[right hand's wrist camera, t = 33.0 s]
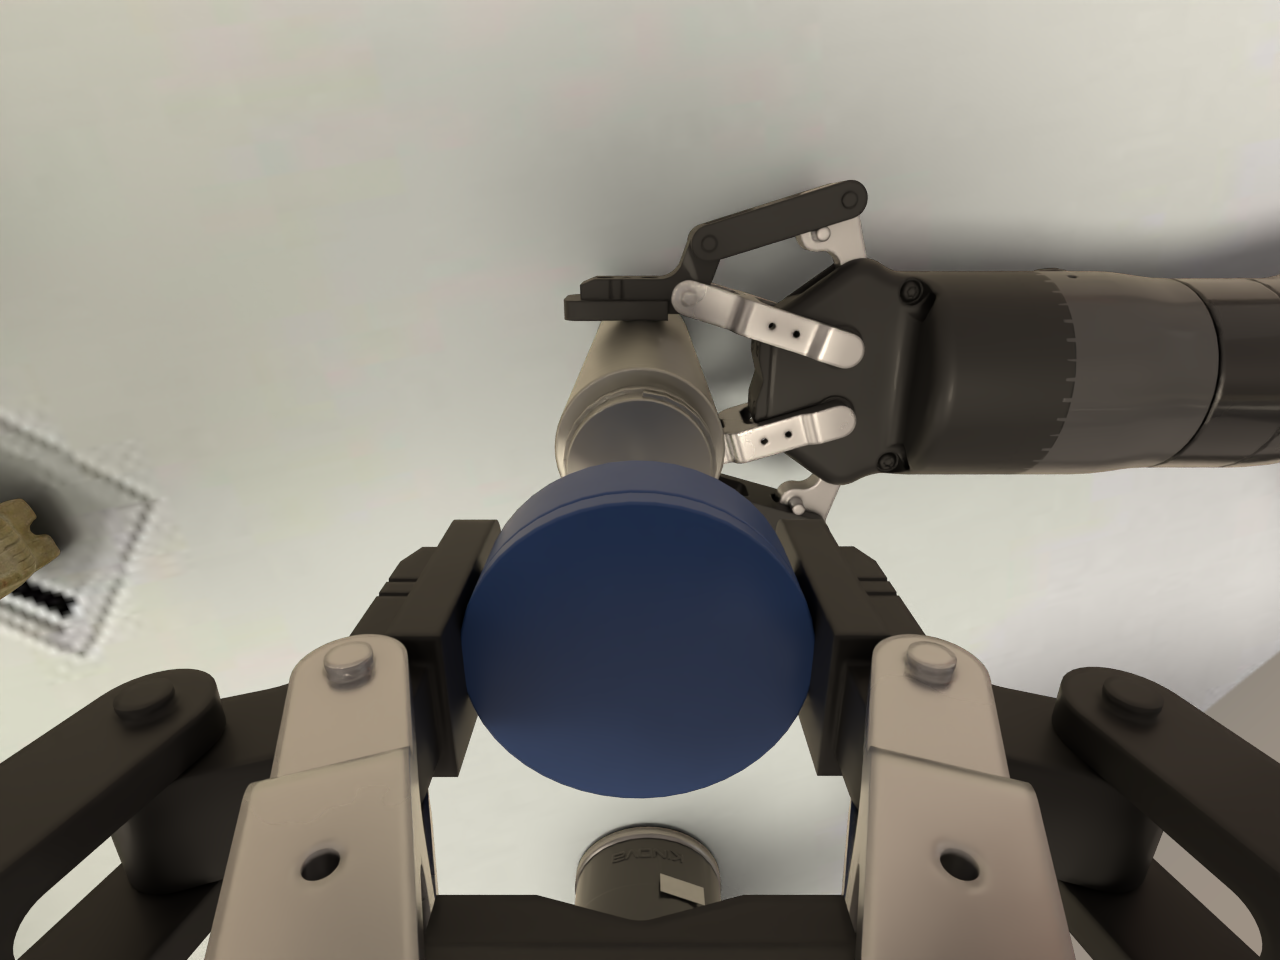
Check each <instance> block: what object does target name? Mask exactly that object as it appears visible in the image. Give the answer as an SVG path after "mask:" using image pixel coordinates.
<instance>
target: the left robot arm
mask: <svg viewBox="0 0 1280 960" xmlns="http://www.w3.org/2000/svg"><path fill="white" fill-rule="evenodd" d="M867 200H868V195H867V191H866V189H865V187H864V186H863V185H862V184H861V183H860V182H858V181H855V180H847V181H842V182H836V183H830V184H826V185H823V186H820V187H817V188H814V189H811V190H807V191H804V192H801V193H798V194H795V195H792V196H788V197H785V198H782V199H779V200H776V201H773V202H769V203H766V204H763V205H760V206H757V207H754V208H751V209H747V210H744V211H741V212H738V213H735V214H732V215H728V216H725V217H722V218H719V219H716V220H713V221H709V222H706V223H703V224H700V225H697V226H696V227H694V228H693V229H692V230H691V231H690V233H689V236H688V240H687V244H686V246H685V249H684V252H683V254H682V257H681V260H680V262H679V264H678V266H677V267H676V269H675V270H673V271H672V272H671V273H669V274H667V275H663V276H595V277H593V278H591V279H588V280H586V281H584V282H583V283H582V284H581V285H580V294H575V295H568V296H567V297H566V298H565V299H564V313H565V320H570V321H644V320H645V321H668V314H682V315H684V316H687V317H690V318H694V319H697V320H700V321H703V322H706V323H709V324H712V325H716V326H719V327H722V328H725V329H728V330H730V331H732V332H734V333H736V334H739V335H742V336H745V337H748V338H751V339H752V340H751V352H752V357H753V362H754V366H755V372H754V375H753V378H752V381H751V384H750V387H749V393H748V402H747V403H744V404H741V405H737V406H734V407H731V408H727V409H725V410H723V411H721V412H720V413H719V414H718V416H719V418H720V421H721V424H722V428H723V432H724V438H725V457H724V463H723V464H726V463H730V462H734V463H746V462H750V461H754V460H757V459H760V458H764V457H767V456H771V455H774V454H778V453H781V452H784V453H785V454H787V455H788V456H789V457H791V458H792V459H794V460H795V461H796V462H798V463H799V464H800V465H802V466H803V467H805V468H806V469H807V470H809V471H810V472H812V475H811V476H810V477H809V478H807V479H805V480H803V481H793V480H791V481H786V482H784V483H782V484H781V485H780V486H779V487H778V489H775V488H771V487H768V486H764V485H761V484H757V483H753V482H750V481H746V480H743V479H739V478H736V477H732V476H728V475H725V474H720V477H719V479H718V480H720V481H721V482H723V483H725V484H726V485H728V486H730V487H731V488H733V489H735V490H736V491H737V492H739V493H740V494H741V495H742V496H744V497H745V498H746V499H747V500H749V501H750V502H751V503H752V504H753V505H754V506H755V507H756V508H757V509H758V510H759V511H760V512H761V513H762V514H763V515H764V517H765V518H766V519H767V521H768V522H769V524H770V525H771V526H772V528H773V529H774V531H775V532H776V526H777V523H778V521H779V519H822V520H823V521H824V522H825V520H826V517H827V515H828V513H829V510H830V508H831V506H832V503H833V501H834V499H835V497H836V494H837V492H838V490H839V487H840V485H845V484H849V483H852V482H854V481H856V480H858V479H860V478H862V477H865V476H868V475H871V474H875V473H893V474H1086V473H1097V472H1105V471H1112V470H1119V469H1127V468H1141V467H1225V468H1229V467H1248V466H1259V465H1269V464H1275V463H1279V462H1280V274H1279V275H1276V276H1272V277H1268V278H1171V279H1167V278H1151V277H1142V276H1135V275H1129V274H1122V273H1114V272H1104V271H1066V270H1062V269H1058V268H1045V269H1038V270H1034V271H893V270H891V269H889V268H887V267H885V266H884V265H882V264H881V263H879V262H877V261H875V260H872V259H868V258H867V257H866V251H865V245H864V239H863V233H862V228H861V222H860V216H859V215H860V214H861V213H862V212H863V210H864V209H865V207H866V204H867ZM795 236H796V240H797V242H798V244H799V245H800V246H801V247H802V248H803V249H806V250H809V251H814V252H820V251H826V252H828V253H829V254H830V255H831V256H832V258H833V260H834V264H832V265H831V266H830V267H828V268H827V269H825V270H824V271H823V272H821V273H820V274H818V275H817V276H816V277H814V278H813V279H811V280H810V281H808V282H807V283H806V284H804V285H803V286H801V287H800V288H799V289H797V290H796V291H794V292H793V293H792V294H790V295H789V296H787V297H786V298H784V299H783V300H782V301H780V302H779V303H776V302H773V301H770V300H767V299H764V298H760V297H757V296H754V295H751V294H748V293H745V292H742V291H739V290H735V289H730V288H727V287H724V286H721V285H718V284H715V283H712V280H713V277H714V275H715V272H716V269H717V267H718V264H719V262H720V260H721V259H724V258H727V257H730V256H733V255H737V254H740V253H743V252H746V251H750V250H753V249H756V248H759V247H763V246H766V245H769V244H772V243H776V242H779V241H782V240H785V239H788V238H792V237H795ZM751 417H752V419H750V418H751ZM763 438H765V440H762V439H763ZM825 524H826V522H825ZM826 526H827V524H826ZM827 527H828V526H827ZM828 529H829V528H828ZM829 531H830V530H829ZM575 894H576V897H575V905H576V906H580V907H584V908H588V909H592V910H596V911H599V912H603V913H607V914H611V915H615V916H618V917H622V918H626V919H631V920H649V919H654V918H658V917H662V916H665V915H669V914H673V913H677V912H681V911H684V910H688V909H692V908H696V907H700V906H704V905H707V904H711V903H715V902H719V901H721V881H720V873H719V868H718V865H717V863H716V861H715V859H714V857H713V856H712V854H711V853H710V852H709V850H708V849H707V848H706V847H705V846H703V845H702V844H701V843H700V842H698V841H697V840H695V839H694V838H692V837H690V836H688V835H686V834H684V833H681V832H678V831H675V830H671V829H667V828H661V827H635V828H629V829H624V830H621V831H617V832H615V833H612V834H610V835H608V836H606V837H604V838H602V839H600V840H599V841H597V842H596V843H595V844H594V845H592V846H591V847H590V848H589V849H588V850H587V851H586V853H585V854H584V855H583V857H582V859H581V860H580V863H579V865H578V868H577V873H576V882H575Z"/></svg>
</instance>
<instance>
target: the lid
mask: <svg viewBox="0 0 1280 960" xmlns="http://www.w3.org/2000/svg"><path fill="white" fill-rule="evenodd" d="M814 643H815V633H814V627H813V621H812V617H811V614H810V611H809V608H808V605H807V602H806V599H805V597H804V595H803V592H802V590H801V588H800V585H799V583H798V580H797V578H796V576H795V573H794V571H793V569H792V566H791V564H790V562H789V559H788V557H787V554H786V552H785V550H784V548H783V546H782V544H781V542H780V540H779V538H778V536H777V534H776V532H775V531H774V529H773V528H772V526H771V525H770V524H769V522H768V521H767V519H766V518H765V517H764V515H763V514H762V513H761V512H760V511H759V510H758V509H757V508H756V507H755V506H754V505H753V504H752V503H751V502H750V501H749V500H747V499H746V498H745V497H744V496H742V495H741V494H740V493H739V492H737V491H736V490H735V489H733V488H731V487H730V486H728V485H726V484H725V483H723V482H721V481H720V480H718V479H716V478H714V477H711V476H709V475H707V474H704V473H702V472H700V471H697V470H694V469H691V468H687V467H684V466H680V465H677V464H671V463H664V462H658V461H639V460H630V461H619V462H609V463H605V464H600V465H596V466H591V467H587V468H585V469H582V470H579V471H576V472H574V473H571V474H568V475H566V476H564V477H562V478H560V479H558V480H556V481H554V482H552V483H550V484H549V485H547V486H546V487H544V488H543V489H541V490H540V491H539V492H537V493H536V494H534V495H533V496H532V497H531V498H529V499H528V500H527V501H526V502H525V503H524V504H523V505H522V506H521V507H520V508H519V509H518V510H517V511H516V512H515V513H514V514H513V516H512V517H511V518H510V519H509V521H508V522H507V523H506V524H505V526H504V527H503V529H502V531H501V532H500V534H499V536H498V537H497V539H496V541H495V543H494V545H493V548H492V550H491V552H490V554H489V557H488V559H487V561H486V564H485V566H484V568H483V570H482V573H481V575H480V577H479V580H478V582H477V584H476V586H475V589H474V591H473V593H472V596H471V598H470V601H469V603H468V605H467V608H466V610H465V614H464V619H463V623H462V627H461V645H462V654H463V663H464V671H465V680H466V687H467V693H468V695H469V698H470V700H471V703H472V705H473V707H474V709H475V711H476V712H477V714H478V716H479V717H480V719H481V721H482V723H483V724H484V725H485V727H486V728H487V729H488V730H489V732H490V733H491V734H492V736H493V737H494V738H495V739H496V740H497V741H498V742H499V743H500V744H501V745H502V746H503V747H504V748H505V749H506V750H507V751H508V752H509V753H510V754H512V755H513V756H514V757H515V758H517V759H518V760H519V761H521V762H522V763H523V764H525V765H526V766H528V767H529V768H531V769H533V770H534V771H536V772H538V773H539V774H541V775H543V776H545V777H547V778H549V779H552V780H554V781H556V782H558V783H560V784H563V785H566V786H569V787H572V788H575V789H578V790H581V791H585V792H589V793H594V794H598V795H604V796H612V797H620V798H654V797H666V796H672V795H677V794H683V793H687V792H691V791H694V790H698V789H701V788H705V787H708V786H710V785H713V784H715V783H718V782H720V781H723V780H725V779H727V778H729V777H731V776H732V775H734V774H736V773H738V772H740V771H742V770H744V769H745V768H746V767H748V766H749V765H751V764H752V763H754V762H755V761H757V760H758V759H759V758H761V757H762V756H763V755H764V754H765V753H766V752H767V751H769V750H770V749H771V748H772V747H773V746H774V745H775V744H776V743H777V742H778V741H779V740H780V738H781V737H782V736H783V735H784V734H785V733H786V732H787V731H788V729H789V728H790V726H791V725H792V723H793V722H794V720H795V719H796V717H797V716H798V714H799V712H800V710H801V708H802V706H803V704H804V702H805V699H806V697H807V694H808V691H809V687H810V679H811V671H812V662H813V653H814Z"/></svg>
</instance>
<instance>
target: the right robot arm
mask: <svg viewBox="0 0 1280 960" xmlns="http://www.w3.org/2000/svg"><path fill="white" fill-rule="evenodd" d="M500 532H501V529H500V525H499V522H498V520H454V521H453V522H452V523H451V525H450V526H449V528H448V530H447V531H446V533H445V535H444V536H443V538H442V540H441V541H440V543H439V545H438V546H437V547H422V548H420V549H419V550H417V551H416V552H414V553H413V554H411V555H410V556H408V557H407V558H405V559H404V560H402V561H401V562H400V563H399V564H398V566H397V567H396V569H395V570H394V572H393V573H392V575H391V576H390V578H389V582H386V583H385V585H384V586H383V588H382V589H381V591H380V592H379V596H377V597H376V598H375V600H374V601H373V602H372V604H371V605H370V607H369V608H368V610H367V611H366V613H365V614H364V616H363V617H362V619H361V620H360V621H359V623H358V624H357V626H356V627H355V629H354V630H353V632H352V633H351V635H350V636H349V637H345V638H341V639H338V640H335V641H332V642H330V643H327V644H325V645H323V646H321V647H319V648H317V649H315V650H314V651H312V652H310V653H309V654H307V655H306V656H305V657H304V658H303V659H301V660H300V662H299V663H298V664H297V665H296V666H295V668H294V669H293V671H292V673H291V676H290V680H289V684H286V685H282V686H279V687H275V688H271V689H267V690H262V691H257V692H252V693H247V694H242V695H237V696H232V697H227V698H222V699H220V696H219V692H218V689H217V685H216V682H215V680H214V678H213V677H212V676H211V675H210V674H208V673H206V672H203V671H200V670H195V669H173V670H166V671H161V672H156V673H152V674H149V675H145V676H142V677H139V678H136V679H134V680H131V681H129V682H127V683H124V684H122V685H120V686H118V687H116V688H114V689H112V690H110V691H109V692H107V693H105V694H104V695H102V696H100V697H99V698H97V699H96V700H95V701H93V702H92V703H90V704H89V705H87V706H86V707H84V708H83V709H81V710H80V711H78V712H77V713H75V714H74V715H72V716H71V717H69V718H68V719H66V720H65V721H63V722H62V723H60V724H59V725H57V726H56V727H54V728H53V729H51V730H50V731H48V732H47V733H45V734H44V735H42V736H41V737H39V738H38V739H36V740H35V741H33V742H32V743H30V744H29V745H27V746H26V747H24V748H23V749H21V750H20V751H18V752H17V753H15V754H14V755H12V756H11V757H9V758H8V759H6V760H5V761H3V762H2V763H0V960H15V958H14V955H13V944H14V939H15V936H16V933H17V930H18V928H19V926H20V924H21V922H22V920H23V919H24V917H25V915H26V914H27V913H28V911H29V910H30V909H31V907H32V906H33V905H34V904H35V903H36V902H37V900H39V899H40V898H41V897H42V896H43V895H44V894H45V893H46V892H47V891H48V890H49V889H51V888H52V887H53V886H54V885H55V884H56V883H57V882H59V881H60V880H61V879H62V878H63V877H64V876H65V875H67V874H68V873H69V872H70V871H71V870H72V869H73V868H75V867H76V866H77V865H78V864H79V863H80V862H81V861H83V860H84V859H85V858H86V857H87V856H88V855H89V854H91V853H92V852H93V851H94V850H95V849H96V848H97V847H99V846H100V845H101V844H102V843H103V842H104V841H105V840H107V839H108V838H109V837H110V836H111V837H112V840H113V842H114V845H115V847H116V850H117V852H118V855H119V857H120V860H121V864H120V865H119V866H118V867H117V868H116V869H115V870H114V871H113V872H111V873H110V874H109V875H108V876H107V877H106V878H105V879H104V880H103V881H102V882H101V883H100V884H99V885H97V886H96V887H95V888H94V889H93V890H92V891H91V892H90V893H89V894H88V895H87V896H86V897H85V898H83V899H82V900H81V901H80V902H79V903H78V904H77V905H76V906H75V907H74V908H73V909H72V910H70V911H69V912H68V913H67V914H66V915H65V916H64V917H63V918H62V919H61V920H60V921H59V922H58V923H56V924H55V925H54V926H53V927H52V928H51V929H50V930H49V931H48V932H47V933H46V934H45V935H43V936H42V937H41V938H40V939H39V940H38V941H37V942H36V943H35V944H34V945H33V946H32V947H31V948H29V949H28V950H27V951H26V952H25V953H24V954H23V955H22V956H21V957H20V958H19V959H18V960H187V959H188V958H189V957H190V955H191V954H192V953H193V952H194V951H195V950H196V948H197V947H198V946H199V945H200V944H201V943H202V941H203V940H204V939H205V938H206V937H207V935H208V934H209V933H210V932H211V933H210V938H209V942H208V946H207V950H206V954H205V958H204V960H1076V958H1075V954H1074V950H1073V946H1072V942H1071V937H1070V933H1071V934H1072V935H1073V937H1074V938H1075V939H1076V940H1077V941H1078V943H1079V944H1080V945H1081V946H1082V947H1083V948H1084V950H1085V951H1086V952H1087V953H1088V954H1089V955H1090V957H1091V958H1092V959H1093V960H1280V763H1278V762H1276V761H1275V760H1274V759H1272V758H1271V757H1269V756H1268V755H1266V754H1265V753H1263V752H1262V751H1260V750H1259V749H1257V748H1256V747H1254V746H1253V745H1251V744H1250V743H1248V742H1247V741H1245V740H1244V739H1242V738H1241V737H1239V736H1238V735H1236V734H1235V733H1233V732H1232V731H1230V730H1229V729H1227V728H1226V727H1224V726H1223V725H1221V724H1220V723H1218V722H1217V721H1215V720H1214V719H1212V718H1211V717H1209V716H1208V715H1206V714H1205V713H1203V712H1202V711H1200V710H1199V709H1197V708H1196V707H1194V706H1193V705H1191V704H1190V703H1188V702H1187V701H1185V700H1184V699H1182V698H1181V697H1179V696H1178V695H1177V694H1175V693H1173V692H1172V691H1170V690H1168V689H1167V688H1165V687H1163V686H1161V685H1159V684H1157V683H1155V682H1153V681H1150V680H1148V679H1146V678H1143V677H1140V676H1138V675H1135V674H1132V673H1128V672H1124V671H1121V670H1116V669H1111V668H1103V667H1084V668H1078V669H1074V670H1072V671H1070V672H1068V673H1067V674H1066V675H1065V676H1064V677H1063V679H1062V681H1061V685H1060V688H1059V692H1058V695H1057V698H1053V697H1048V696H1043V695H1038V694H1033V693H1028V692H1023V691H1018V690H1013V689H1008V688H1004V687H1000V686H995V685H992V684H991V680H990V676H989V673H988V671H987V669H986V668H985V666H984V665H983V664H982V663H981V662H980V660H979V659H977V658H976V657H975V656H974V655H973V654H971V653H970V652H968V651H966V650H965V649H963V648H961V647H959V646H957V645H955V644H953V643H950V642H948V641H945V640H942V639H939V638H935V637H931V636H926V635H925V634H924V632H923V631H922V629H921V628H920V626H919V625H918V623H917V622H916V620H915V619H914V617H913V616H912V614H911V613H910V611H909V610H908V608H907V607H906V605H905V604H904V602H903V601H902V599H901V598H900V596H897V595H896V591H895V589H894V588H893V586H892V585H891V583H890V582H889V581H887V577H886V576H885V574H884V573H883V571H882V570H881V568H880V567H879V565H878V564H877V562H876V561H875V560H873V559H872V558H870V557H869V556H867V555H866V554H864V553H863V552H861V551H860V550H858V549H857V548H855V547H854V546H838V544H837V542H836V541H835V539H834V537H833V536H832V534H831V532H830V531H829V529H828V527H827V526H826V524H825V522H824V521H823V520H822V519H779V521H778V523H777V526H776V534H777V536H778V538H779V540H780V542H781V544H782V546H783V548H784V550H785V552H786V554H787V557H788V559H789V562H790V564H791V566H792V569H793V571H794V573H795V576H796V578H797V580H798V583H799V585H800V588H801V590H802V592H803V595H804V597H805V599H806V602H807V605H808V608H809V611H810V614H811V617H812V621H813V627H814V633H815V643H814V653H813V662H812V671H811V679H810V687H809V691H808V694H807V697H806V699H805V702H804V704H803V706H802V708H801V710H800V712H799V714H798V716H799V719H800V722H801V725H802V728H803V731H804V735H805V738H806V741H807V744H808V747H809V751H810V754H811V757H812V760H813V763H814V767H815V770H816V773H817V776H843V778H844V781H845V784H846V786H847V789H848V792H849V795H850V797H851V799H850V806H849V812H848V823H847V835H846V847H845V859H844V871H843V883H842V895H742V896H738V897H734V898H730V899H726V900H723V901H719V902H715V903H711V904H707V905H704V906H700V907H696V908H692V909H688V910H684V911H681V912H677V913H673V914H669V915H665V916H662V917H658V918H654V919H649V920H631V919H626V918H622V917H618V916H615V915H611V914H607V913H603V912H599V911H596V910H592V909H588V908H584V907H580V906H576V905H573V904H569V903H565V902H561V901H557V900H554V899H550V898H546V897H542V896H538V895H438V883H437V871H436V859H435V847H434V835H433V823H432V812H431V805H430V799H429V792H428V788H429V785H430V782H431V779H432V777H458V775H459V772H460V769H461V766H462V763H463V760H464V757H465V753H466V750H467V747H468V744H469V741H470V738H471V735H472V732H473V729H474V725H475V722H476V719H477V716H478V714H477V712H476V711H475V709H474V707H473V705H472V703H471V700H470V698H469V695H468V693H467V687H466V680H465V671H464V663H463V654H462V645H461V627H462V623H463V619H464V614H465V610H466V608H467V605H468V603H469V601H470V598H471V596H472V593H473V591H474V589H475V586H476V584H477V582H478V580H479V577H480V575H481V573H482V570H483V568H484V566H485V564H486V561H487V559H488V557H489V554H490V552H491V550H492V548H493V545H494V543H495V541H496V539H497V537H498V536H499V534H500ZM1163 831H1164V832H1165V833H1167V834H1168V835H1169V836H1170V837H1171V838H1172V839H1173V840H1175V841H1176V842H1177V843H1178V844H1179V845H1180V846H1181V847H1183V848H1184V849H1185V850H1186V851H1187V852H1188V853H1189V854H1191V855H1192V856H1193V857H1194V858H1195V859H1196V860H1197V861H1199V862H1200V863H1201V864H1202V865H1203V866H1204V867H1205V868H1207V869H1208V870H1209V871H1210V872H1211V873H1212V874H1213V875H1215V876H1216V877H1217V878H1218V879H1219V880H1220V881H1221V882H1223V883H1224V884H1225V885H1226V886H1227V887H1228V888H1230V889H1231V890H1232V891H1233V892H1234V893H1235V894H1236V895H1237V896H1238V897H1239V898H1240V899H1241V901H1242V902H1243V903H1244V904H1245V905H1246V907H1247V908H1248V909H1249V911H1250V912H1251V914H1252V916H1253V917H1254V919H1255V921H1256V923H1257V925H1258V927H1259V930H1260V934H1261V937H1262V952H1261V955H1260V957H1259V956H1258V955H1257V954H1256V953H1255V952H1254V951H1253V950H1252V949H1251V948H1249V947H1248V946H1247V945H1246V944H1245V943H1244V942H1243V941H1242V940H1241V939H1240V938H1239V937H1238V936H1236V935H1235V934H1234V933H1233V932H1232V931H1231V930H1230V929H1229V928H1228V927H1227V926H1226V925H1225V924H1224V923H1222V922H1221V921H1220V920H1219V919H1218V918H1217V917H1216V916H1215V915H1214V914H1213V913H1212V912H1211V911H1209V910H1208V909H1207V908H1206V907H1205V906H1204V905H1203V904H1202V903H1201V902H1200V901H1199V900H1198V899H1197V898H1195V897H1194V896H1193V895H1192V894H1191V893H1190V892H1189V891H1188V890H1187V889H1186V888H1185V887H1184V886H1183V885H1181V884H1180V883H1179V882H1178V881H1177V880H1176V879H1175V878H1174V877H1173V876H1172V875H1171V874H1170V873H1168V872H1167V871H1166V870H1165V869H1164V868H1163V867H1162V866H1161V865H1160V864H1159V863H1158V862H1157V861H1156V860H1154V859H1153V856H1154V854H1155V851H1156V848H1157V846H1158V843H1159V841H1160V838H1161V835H1162V833H1163ZM1069 932H1070V933H1069Z"/></svg>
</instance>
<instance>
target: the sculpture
mask: <svg viewBox="0 0 1280 960" xmlns="http://www.w3.org/2000/svg"><path fill="white" fill-rule="evenodd" d="M35 519H36V514H35V513H34V512H33V510H32V509H31V507H30V506H29V505H28V504H27V503H26V502H25V501H24V500H23V499H14V500H8V501H5V502H3V503H0V599H2V598H3V597H5V596H6V595H8V594H9V593H11V592H12V591H14V590H15V589H16V588H18V587H19V586H21V585H22V584H23V583H24V582H25V581H26V580H27V579H28V578H29V577H30V576H31V575H32V574H33V573H34V572H36V571H37V570H39V569H40V568H42V567H43V566H45V565H46V564H48V563H49V562H51V561H52V560H53V559H55V558H56V557H57V556H58V555H59V554H60V550H59V549H58V547H57V546H56V544H55V542H54V540H53V539H52V538H51V537H50V536H49V535H47V534H41V535H35V534H33V533H32V532H31V531H30V525H31V523H32V522H33V521H34V520H35Z"/></svg>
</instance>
